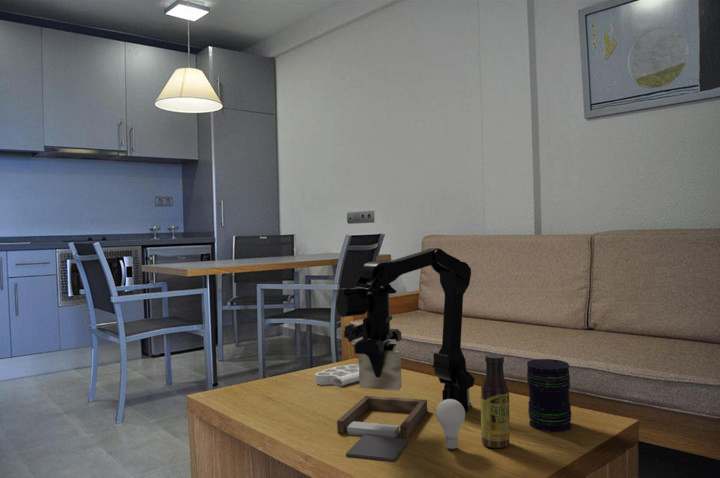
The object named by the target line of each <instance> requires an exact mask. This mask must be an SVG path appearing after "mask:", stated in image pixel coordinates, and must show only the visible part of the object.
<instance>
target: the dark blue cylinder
mask: <svg viewBox="0 0 720 478" xmlns="http://www.w3.org/2000/svg"><path fill="white" fill-rule="evenodd" d="M526 367H527V369H526V372H527V373H526V379H527V387H528V394H529V395H528V396H529V397H528V398H529V400H528V410H527V411H528V418H529V424H528V425H529V426H530V427H531V428H532V429H534V430H537V431H539V432H540V431H541V432H545V433H564V432H567V431H569V430H571V429H572V423H571V421H572V410H571V409H572V407H571V406H572V405H571V402H570V388H571V387H570V386H571V383H570V381H571V377H570V376H571V375H570V370H569V369H570V364H569V363H568V362H567V361H564V360H560V359H549V358H541V359H540V358H538V359H532V360H528V361H527V362H526Z"/></svg>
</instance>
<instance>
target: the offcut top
mask: <svg viewBox="0 0 720 478" xmlns="http://www.w3.org/2000/svg"><path fill="white" fill-rule="evenodd" d="M399 430H400V425H397V424H385V423H376V422H375V423H374V422H363V421H356V422H355V421H353V422H352V423H351V424H350V425H349V426H348V427H347V430H346V432H347V433H348V432H353V433H363V434H373V435H383V436H393V437H394V436H395V435H396V434H397V433H398V432H399Z"/></svg>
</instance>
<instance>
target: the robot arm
mask: <svg viewBox="0 0 720 478" xmlns="http://www.w3.org/2000/svg"><path fill="white" fill-rule="evenodd" d="M429 266H430V267H431V269H432V270H433V271H435V272H436V274H438V275H439V283H440V287H441V288H442V291H443V292H444V293H443V294H444V302H443V303H444V306H443V318H442V319H443V322H442V323H443V325H442V340H441V341H442V342H441V348H440V349H439V351H438V352H434V353H433V362H432V363H433V364H432V368H434V369H433V370H434V371H433V372H434V374H435V375H436V376H437V378H438V380H439V383H440V384H442V385H443V384H444V385H443V390H442V392H441V394H442V401H443V400H446V399H454V400H457V401H458V402H460V403H461V404H462V406H463V407H464V410H465V412H468V411H469V409H470V408H471V406H472V402H471V401H470V398H471V397H470V389H471V388H473V387H474V385H475V381H476V380H475V379H476V378H475V377H474V376H473V375H472V374H471V373H470V372H469V371H468V370H467V364H466V362H467V361H466V358H465V355H464V352H463V351H462V348H461V347H462V346H461V345H462V330H463V329H462V325H463V305H464V295H465V293H466V291H467V289H468V288H469V286H470V283H471V278H472V277H471V276H472V268H471V266H470V265H469V264H468V263H467V262H465V261H461V260H459V258H457V257H455V256H452V255H451V254H449V253H447V252H446V251H444V250H443V249H441V248H439V247H437V248H436V247H435V248H433V247H432V248H431V247H430V248H429V247H428V248H426V249H425V250H422V251H418V252H416V253H413V254H409V255H406V256H402V257H399V258H397V259H393V260H378V261H368V262H365V263H364V265H363V267H362V268H361V273H360V275H359V277H358V278H357V280H356V282H355V284H354V285H353V287H352V288H347V287H346V288H345V287H344V288H340V289H339V294H338V295H337V298H336V302H335V307H336V308H335V309H336V311H337V314H338V316H339V317H341V318H345V317H346V318H347V317H355V316H362V315H366V317H363V319H362V323H360V324H357V325H354V324H353V323H351V324H348V325H345V326H344V330H343V338H346V339H347V342H348V343H351V342H353V341H356V340H357V341H356V342H355V344H353V353H354V354H356V355H357V354H366V355H367V356H368V357H369V359H370V362H371V365H372V368H373V371H374V374H375V376H376V377H380V376H381V373H382V369H383V366H384V362H385V359H386V355H387V351H395V349H396V347H397V344H396V343H392V341H391V340H395V341H396V342H397V343H398V342H400V341H402V332H401V331H400V330H399V329H398V328H391V321H392V320H393V315H390V294H391V295H392V294H397V290H396V289H395V288H394V287H392V286H391V283H393V282H395V281H396V280H397V279H398V278H399V277H401V276H403V275H405V274H408V273H412V272H414V271H417V270H420V269H423V268H427V267H429ZM360 338H362V339H360ZM358 339H360V340H358Z"/></svg>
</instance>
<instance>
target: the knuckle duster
mask: <svg viewBox="0 0 720 478" xmlns="http://www.w3.org/2000/svg"><path fill="white" fill-rule="evenodd" d="M314 377H315V378H314V379H315V384H316V385H318V384H319V386H328V385H335V386H337V387H343V386H346V385H349V384H350V385H351V384H354V383H357V382H359V364H355V363H353V364H347V365H346V364H345V365H338V366H334V367H330V368H326V369H323V370H322V371H318V372H315V373H314Z"/></svg>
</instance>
